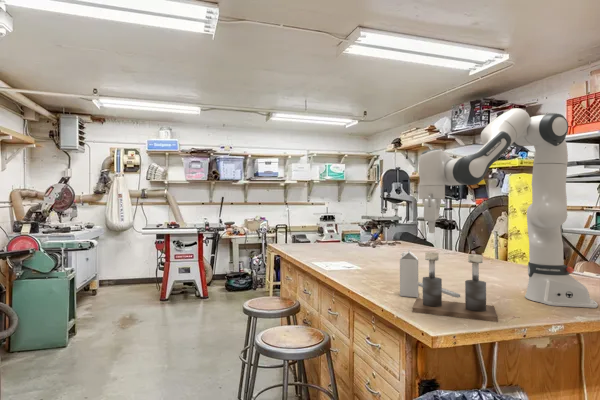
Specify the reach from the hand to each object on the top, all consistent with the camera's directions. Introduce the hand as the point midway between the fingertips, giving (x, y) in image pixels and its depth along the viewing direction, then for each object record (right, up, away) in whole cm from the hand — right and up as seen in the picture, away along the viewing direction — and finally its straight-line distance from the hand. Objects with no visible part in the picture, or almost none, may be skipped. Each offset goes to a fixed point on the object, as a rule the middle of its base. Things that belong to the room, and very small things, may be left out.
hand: (431, 232), depth 129 cm
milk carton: (-2, -28, +19) cm, 34 cm away
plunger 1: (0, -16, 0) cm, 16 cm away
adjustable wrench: (+12, -28, +28) cm, 41 cm away
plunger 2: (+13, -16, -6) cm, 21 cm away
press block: (+6, -27, -3) cm, 28 cm away
